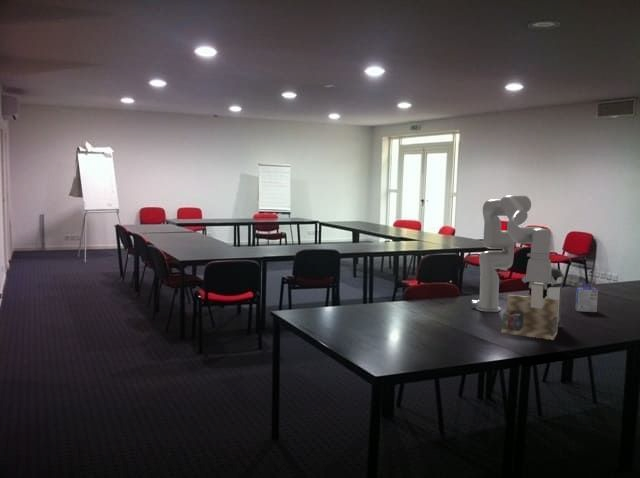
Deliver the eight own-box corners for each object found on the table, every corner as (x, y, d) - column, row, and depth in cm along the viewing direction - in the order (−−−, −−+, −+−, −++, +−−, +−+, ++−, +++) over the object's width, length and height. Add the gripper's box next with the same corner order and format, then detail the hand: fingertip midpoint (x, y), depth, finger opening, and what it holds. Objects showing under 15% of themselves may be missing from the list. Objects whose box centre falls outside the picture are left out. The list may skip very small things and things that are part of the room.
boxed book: (530, 307, 239) (531, 284, 238) (533, 303, 246) (534, 282, 245) (541, 308, 237) (542, 286, 236) (544, 305, 244) (545, 283, 243)
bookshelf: (501, 332, 245) (502, 299, 244) (506, 326, 256) (508, 294, 254) (553, 340, 234) (555, 304, 233) (557, 333, 244) (558, 299, 243)
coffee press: (568, 324, 261) (571, 262, 258) (555, 330, 250) (558, 266, 246) (532, 317, 273) (535, 258, 270) (518, 323, 262) (521, 262, 259)
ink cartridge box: (594, 310, 290) (595, 283, 289) (597, 312, 285) (598, 285, 283) (574, 309, 292) (575, 282, 291) (577, 311, 287) (578, 284, 285)
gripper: (518, 256, 240) (516, 296, 242) (559, 259, 232) (557, 301, 234) (521, 254, 247) (519, 293, 249) (561, 257, 238) (559, 297, 240)
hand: (537, 296), depth 241 cm, fingers closed on boxed book, 4 cm apart
